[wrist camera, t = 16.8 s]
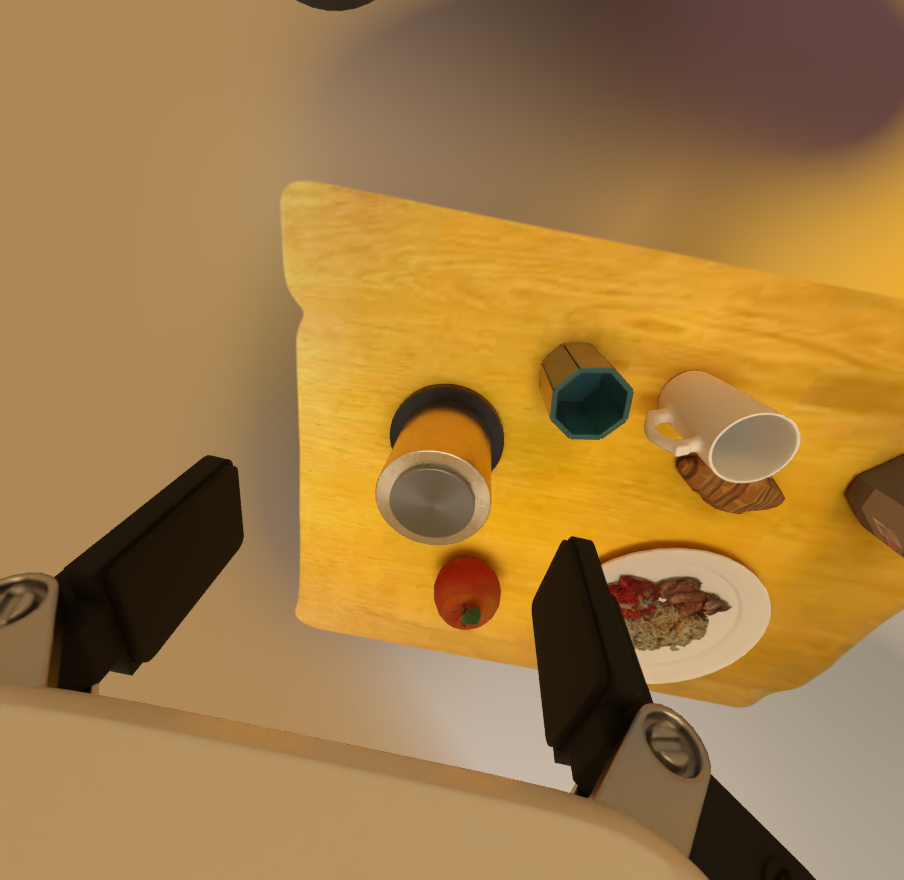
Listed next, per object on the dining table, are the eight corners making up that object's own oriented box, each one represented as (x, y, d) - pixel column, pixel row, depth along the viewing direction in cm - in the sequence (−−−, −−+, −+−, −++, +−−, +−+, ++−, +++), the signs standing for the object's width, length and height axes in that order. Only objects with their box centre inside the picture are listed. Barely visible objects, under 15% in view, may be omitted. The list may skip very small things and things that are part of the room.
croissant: (657, 480, 47) (675, 505, 43) (691, 435, 44) (713, 457, 40) (752, 514, 48) (779, 541, 44) (792, 473, 45) (825, 498, 41)
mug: (724, 362, 40) (808, 406, 29) (718, 419, 43) (793, 478, 32) (624, 379, 42) (668, 426, 31) (625, 432, 45) (666, 492, 34)
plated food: (702, 686, 65) (712, 707, 62) (531, 653, 65) (533, 673, 62) (808, 562, 51) (827, 582, 48) (589, 521, 51) (595, 538, 48)
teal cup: (577, 328, 40) (599, 350, 32) (618, 374, 41) (647, 406, 34) (527, 374, 42) (535, 404, 34) (566, 415, 44) (583, 452, 36)
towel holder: (445, 359, 42) (427, 406, 30) (527, 439, 46) (539, 510, 34) (369, 434, 48) (328, 500, 36) (448, 501, 52) (435, 581, 40)
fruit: (426, 575, 59) (415, 634, 50) (455, 536, 55) (448, 593, 46) (480, 599, 60) (477, 661, 51) (512, 563, 56) (515, 623, 47)
